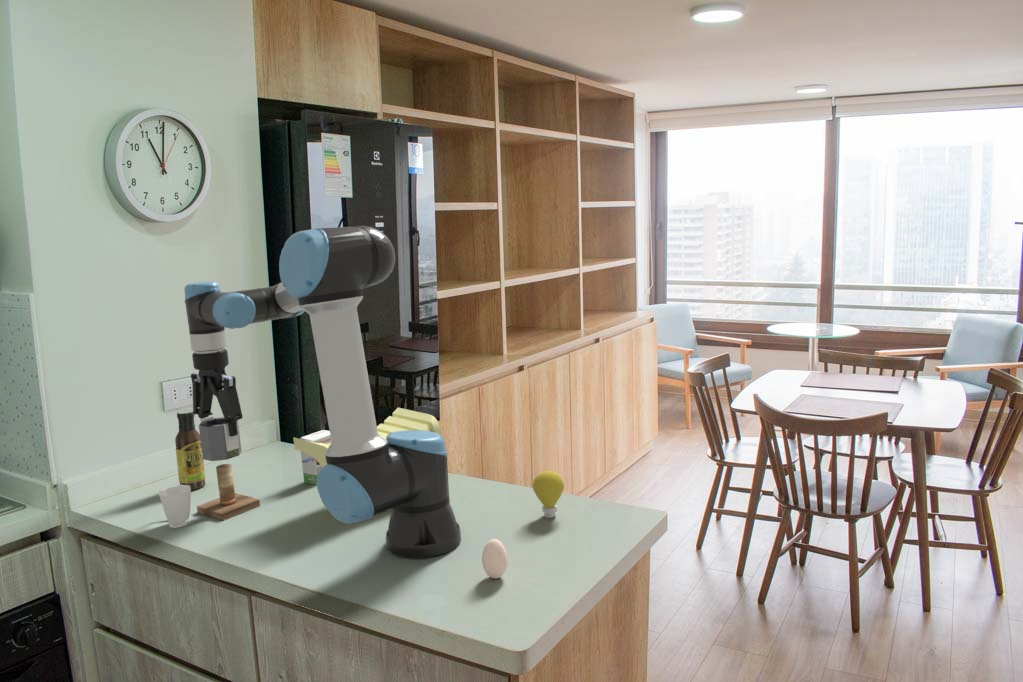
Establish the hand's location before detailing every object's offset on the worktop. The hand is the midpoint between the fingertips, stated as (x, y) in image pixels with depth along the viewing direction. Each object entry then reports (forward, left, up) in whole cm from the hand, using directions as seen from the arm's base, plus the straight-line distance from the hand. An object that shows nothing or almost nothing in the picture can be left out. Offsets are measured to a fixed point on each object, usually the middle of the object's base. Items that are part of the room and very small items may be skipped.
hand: (221, 446), depth 185 cm
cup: (+4, +11, -15) cm, 19 cm away
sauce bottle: (+22, -5, -15) cm, 27 cm away
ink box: (-4, -25, -15) cm, 30 cm away
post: (0, 0, -15) cm, 15 cm away
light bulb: (-69, -32, -15) cm, 78 cm away
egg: (-76, -3, -15) cm, 78 cm away
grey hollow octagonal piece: (0, 0, -2) cm, 2 cm away
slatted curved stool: (-27, -21, -15) cm, 38 cm away
